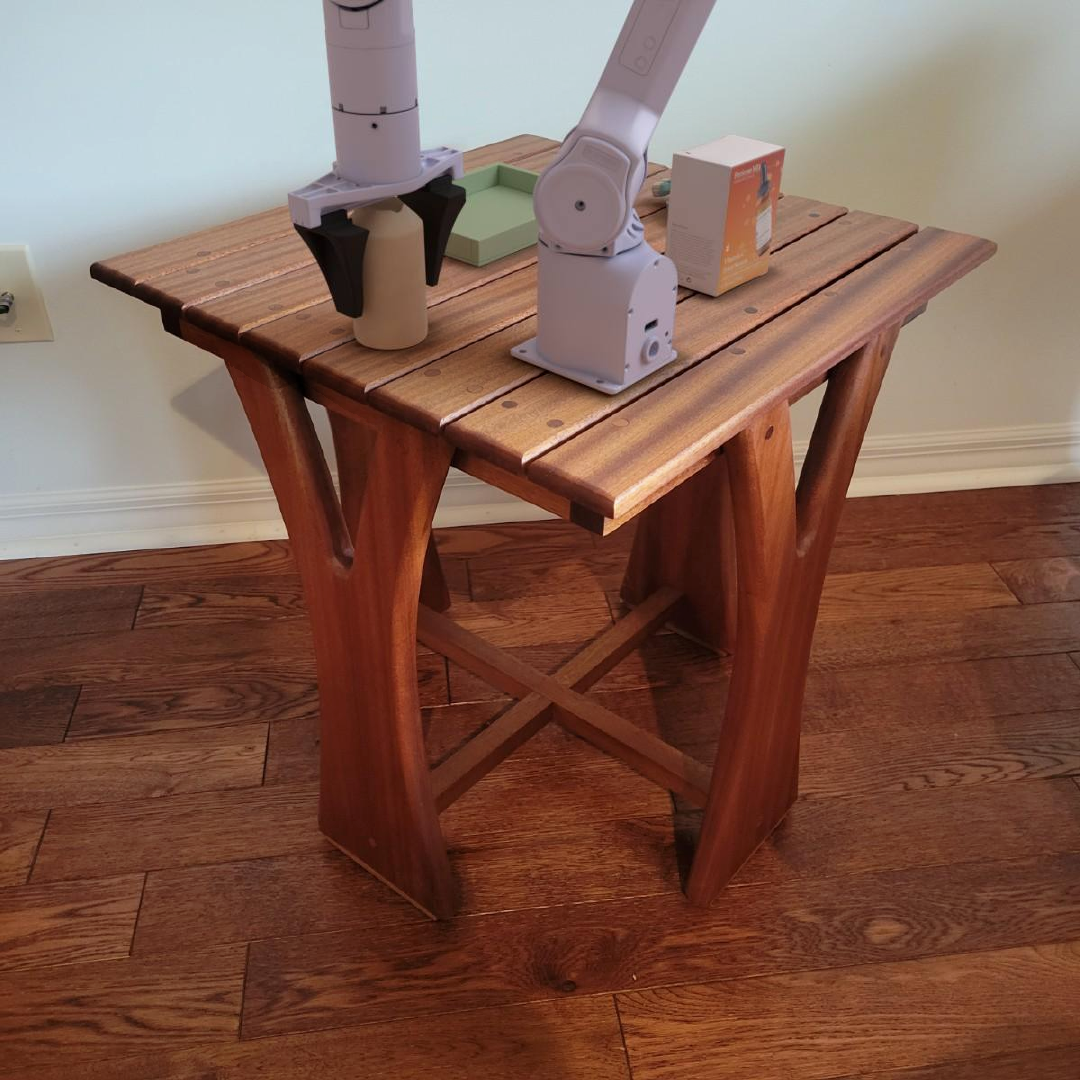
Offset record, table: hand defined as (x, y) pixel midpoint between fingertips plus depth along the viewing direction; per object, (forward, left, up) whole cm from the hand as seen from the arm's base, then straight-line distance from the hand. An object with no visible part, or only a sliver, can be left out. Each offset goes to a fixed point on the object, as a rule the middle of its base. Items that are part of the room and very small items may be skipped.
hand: (388, 297), depth 80 cm
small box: (-12, -26, -3) cm, 29 cm away
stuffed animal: (-3, -39, -3) cm, 39 cm away
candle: (0, 0, -3) cm, 3 cm away
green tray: (+11, -23, -3) cm, 26 cm away
